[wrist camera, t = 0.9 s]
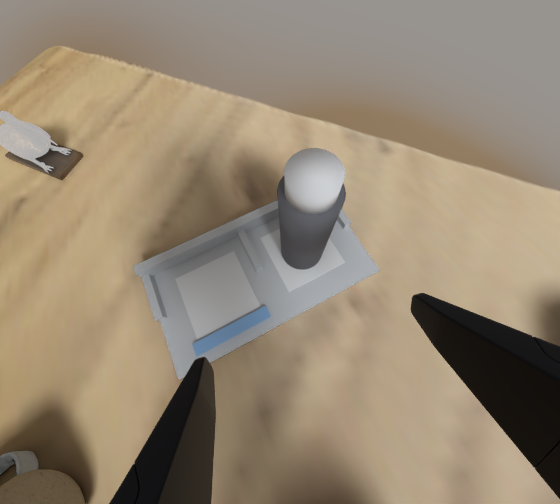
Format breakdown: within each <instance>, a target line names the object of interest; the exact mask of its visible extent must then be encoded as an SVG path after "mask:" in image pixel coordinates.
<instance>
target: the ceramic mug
mask: <svg viewBox="0 0 560 504" xmlns="http://www.w3.org/2000/svg"><path fill="white" fill-rule="evenodd" d="M14 464H16V476H15V477H13V478H12V479H10V480H9V481H7V482H5V483H4V484H2V485H1V486H0V504H85V500H84V497H83V494H82V491H81V489H80V487H79V486H78V484H77V483H76V482H75V481H74V480H73V479H72V478H71V477H70V476H68V475H67V474H65V473H63V472H60V471H56V470H52V469H40V470H38V469H39V463H38V459H37V458H36V455H35V454H34V453H33V452H31V451H12V452H9V453H5V454H3V455H1V456H0V475H1V474H2V473H3V472H4V471H6V470H7V469H8V468H9V467H10V466H11V465H14Z"/></svg>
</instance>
